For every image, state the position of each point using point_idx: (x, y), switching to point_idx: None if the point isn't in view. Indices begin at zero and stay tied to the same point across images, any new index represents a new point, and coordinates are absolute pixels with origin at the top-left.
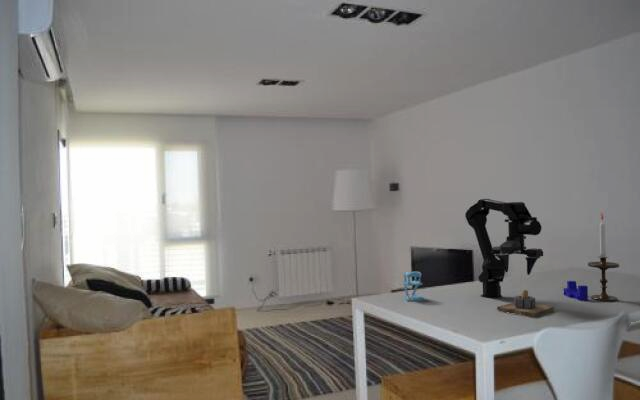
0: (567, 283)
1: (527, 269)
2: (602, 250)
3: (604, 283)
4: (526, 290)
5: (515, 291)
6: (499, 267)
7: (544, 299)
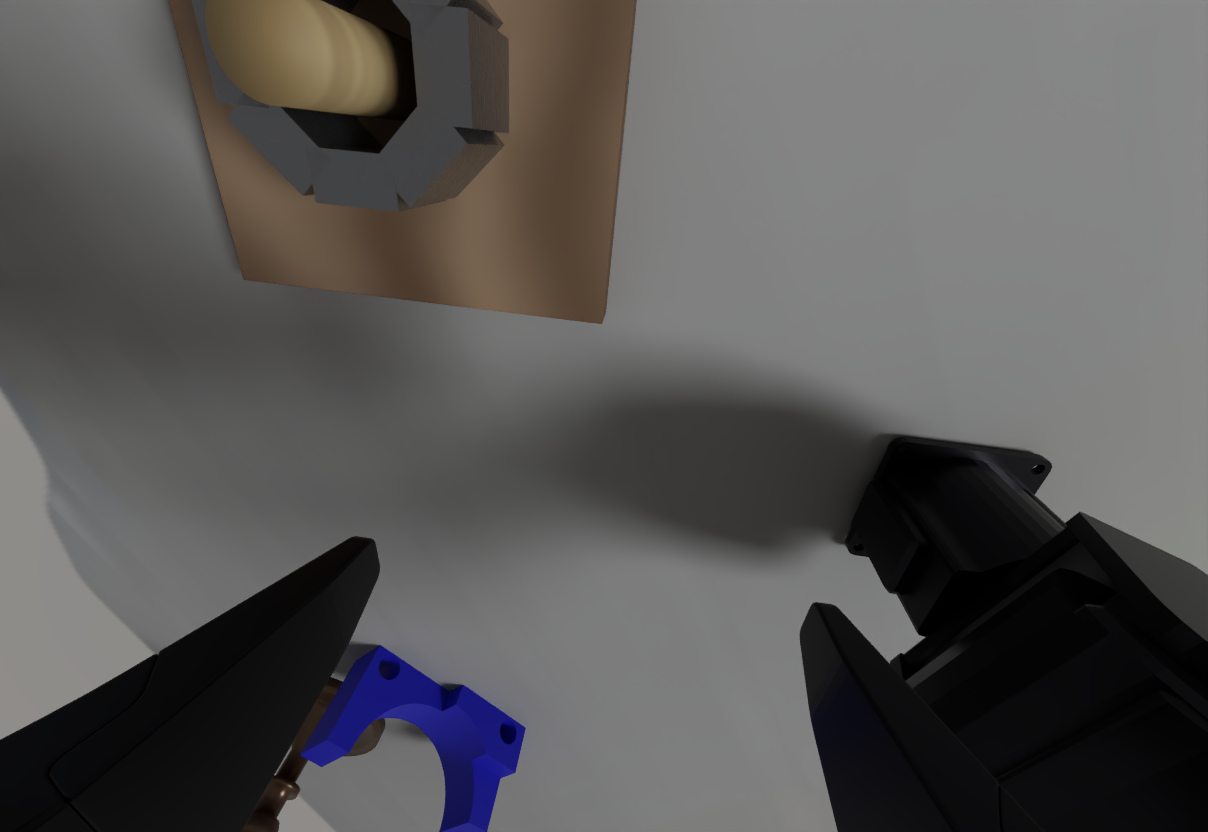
0: (487, 810)
1: (283, 605)
2: None
3: (254, 809)
4: (260, 91)
5: (803, 707)
6: (1030, 815)
7: (544, 592)
